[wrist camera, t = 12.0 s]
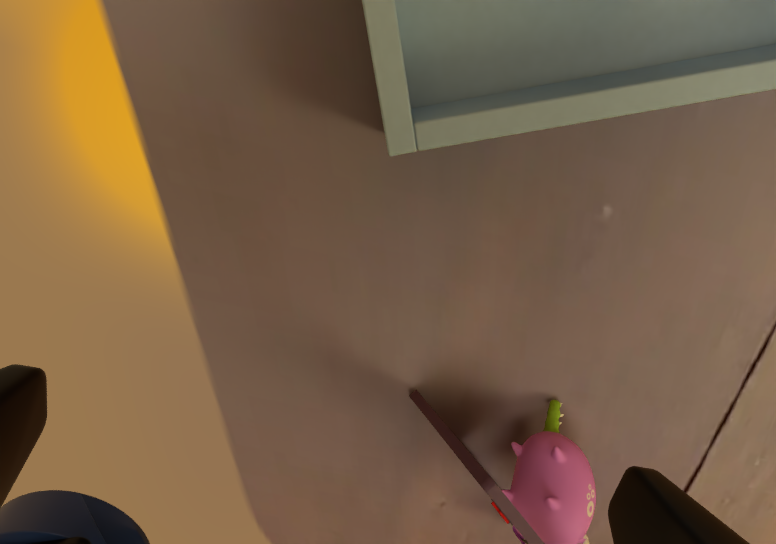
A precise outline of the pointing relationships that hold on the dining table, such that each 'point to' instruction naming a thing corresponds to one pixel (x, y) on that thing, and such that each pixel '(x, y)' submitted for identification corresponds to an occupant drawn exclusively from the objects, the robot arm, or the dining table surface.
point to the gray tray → (556, 62)
